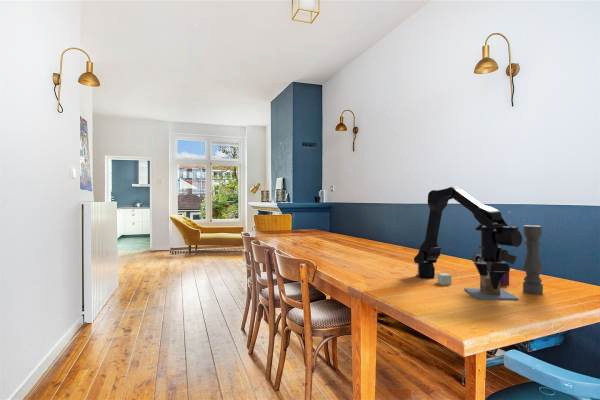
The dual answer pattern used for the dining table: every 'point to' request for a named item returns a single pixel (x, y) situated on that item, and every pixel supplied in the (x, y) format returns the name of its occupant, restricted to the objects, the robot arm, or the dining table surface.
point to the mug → (504, 279)
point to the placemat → (479, 295)
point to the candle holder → (532, 260)
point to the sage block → (444, 279)
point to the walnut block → (488, 286)
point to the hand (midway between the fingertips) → (489, 285)
